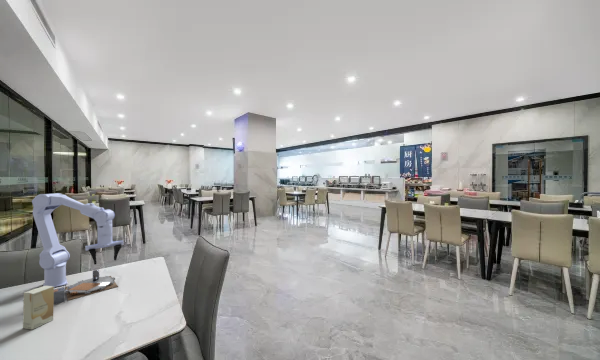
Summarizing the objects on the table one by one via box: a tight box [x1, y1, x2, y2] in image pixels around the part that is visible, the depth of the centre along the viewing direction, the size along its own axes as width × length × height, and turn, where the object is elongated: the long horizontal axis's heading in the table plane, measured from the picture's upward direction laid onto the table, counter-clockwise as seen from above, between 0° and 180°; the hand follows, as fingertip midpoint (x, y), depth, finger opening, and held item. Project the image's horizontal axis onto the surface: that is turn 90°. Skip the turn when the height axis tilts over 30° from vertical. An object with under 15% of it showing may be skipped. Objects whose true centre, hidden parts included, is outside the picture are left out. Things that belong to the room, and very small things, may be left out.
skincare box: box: [22, 286, 55, 330], centre depth 84 cm, size 6×4×12 cm
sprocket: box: [64, 269, 116, 295], centre depth 112 cm, size 18×18×6 cm
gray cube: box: [54, 286, 66, 305], centre depth 98 cm, size 4×6×5 cm, turn 137°
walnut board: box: [64, 275, 119, 301], centre depth 112 cm, size 18×17×1 cm
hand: (105, 261), depth 118 cm, fingers open, 7 cm apart
